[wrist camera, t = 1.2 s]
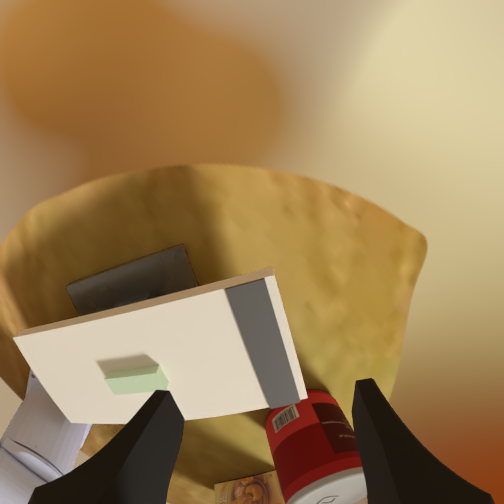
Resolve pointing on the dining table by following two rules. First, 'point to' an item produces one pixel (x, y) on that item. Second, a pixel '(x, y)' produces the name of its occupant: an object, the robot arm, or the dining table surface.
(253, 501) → the candy box
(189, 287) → the pivot stand
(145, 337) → the leveling board
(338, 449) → the canned food
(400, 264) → the dining table surface
